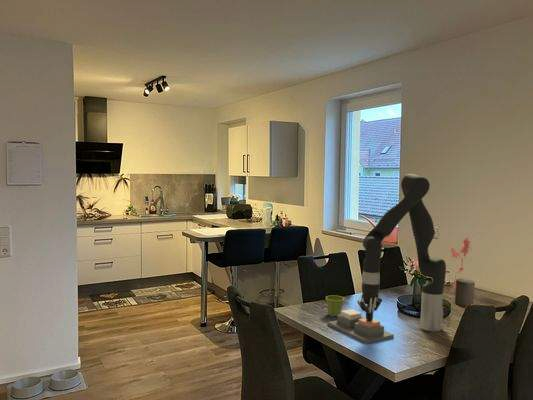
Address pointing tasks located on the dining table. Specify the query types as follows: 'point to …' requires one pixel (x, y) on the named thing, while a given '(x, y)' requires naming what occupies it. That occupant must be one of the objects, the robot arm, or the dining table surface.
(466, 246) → the pink flower sprig
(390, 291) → the dining table surface
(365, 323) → the terracotta key
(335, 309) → the plant pot
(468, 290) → the pillar candle
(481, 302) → the dining table surface
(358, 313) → the cream key
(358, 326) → the key panel
